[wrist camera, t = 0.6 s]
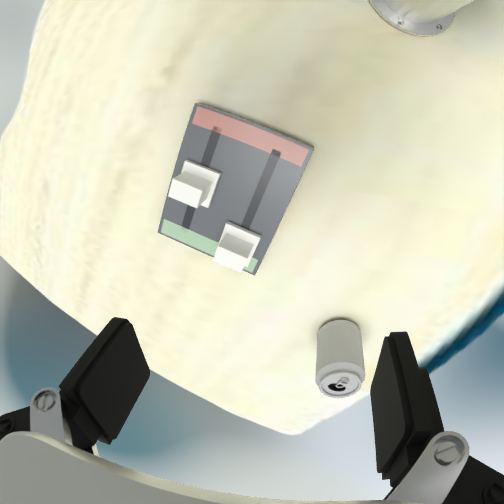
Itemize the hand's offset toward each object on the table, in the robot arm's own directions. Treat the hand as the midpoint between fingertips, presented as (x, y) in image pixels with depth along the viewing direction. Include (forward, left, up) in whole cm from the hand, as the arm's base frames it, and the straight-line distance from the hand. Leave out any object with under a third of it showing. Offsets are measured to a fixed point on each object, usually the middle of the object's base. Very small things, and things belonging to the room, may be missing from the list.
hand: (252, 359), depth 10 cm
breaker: (+13, -3, -30) cm, 33 cm away
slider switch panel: (+7, -7, -32) cm, 34 cm away
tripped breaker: (+7, -11, -30) cm, 33 cm away
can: (+22, +18, -33) cm, 43 cm away
